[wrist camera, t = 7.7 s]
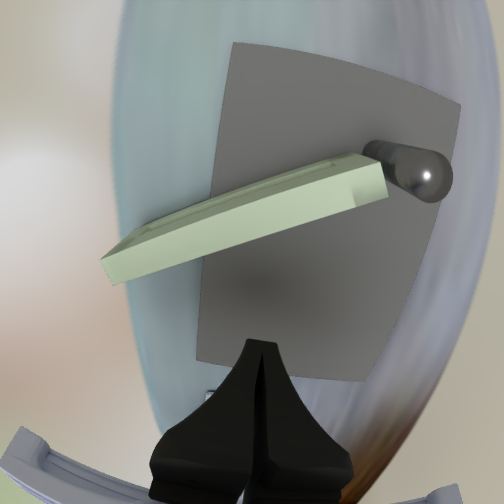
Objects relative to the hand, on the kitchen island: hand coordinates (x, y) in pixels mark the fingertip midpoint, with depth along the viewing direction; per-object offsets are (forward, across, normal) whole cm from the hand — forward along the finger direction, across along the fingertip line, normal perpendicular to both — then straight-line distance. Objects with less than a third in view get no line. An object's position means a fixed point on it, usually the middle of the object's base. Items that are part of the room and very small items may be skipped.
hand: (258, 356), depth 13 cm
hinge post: (+7, -5, -9) cm, 13 cm away
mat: (+7, -3, -3) cm, 8 cm away
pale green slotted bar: (+6, +2, -5) cm, 8 cm away
